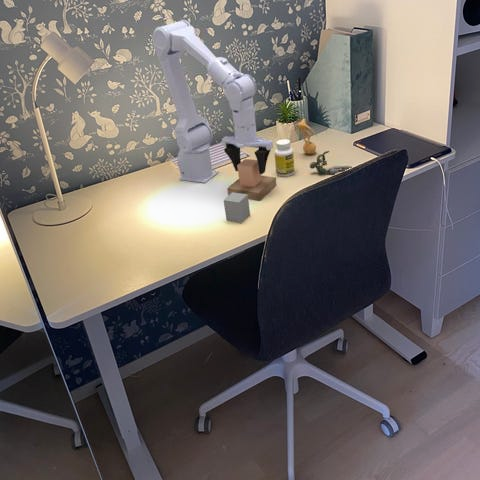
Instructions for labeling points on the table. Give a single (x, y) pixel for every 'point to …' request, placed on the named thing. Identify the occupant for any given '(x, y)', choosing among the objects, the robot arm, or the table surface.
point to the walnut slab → (254, 188)
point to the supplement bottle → (284, 158)
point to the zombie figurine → (323, 170)
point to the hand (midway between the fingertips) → (250, 171)
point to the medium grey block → (237, 207)
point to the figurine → (308, 146)
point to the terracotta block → (249, 173)
